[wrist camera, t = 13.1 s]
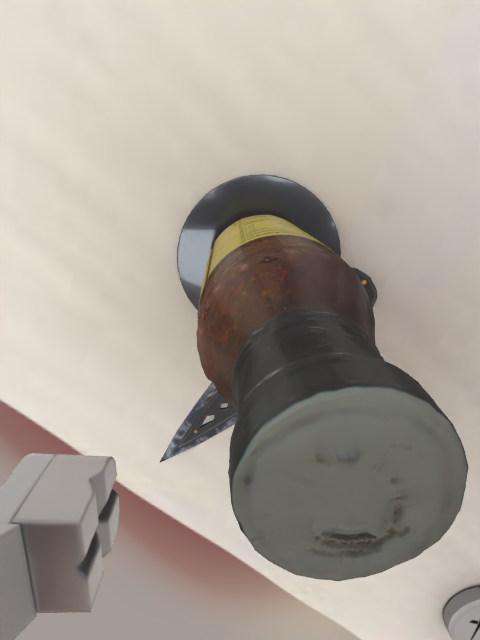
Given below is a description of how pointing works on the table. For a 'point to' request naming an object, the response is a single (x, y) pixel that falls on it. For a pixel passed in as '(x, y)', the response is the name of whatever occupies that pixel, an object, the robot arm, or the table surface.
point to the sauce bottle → (320, 411)
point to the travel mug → (464, 615)
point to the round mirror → (243, 202)
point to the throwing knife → (211, 402)
